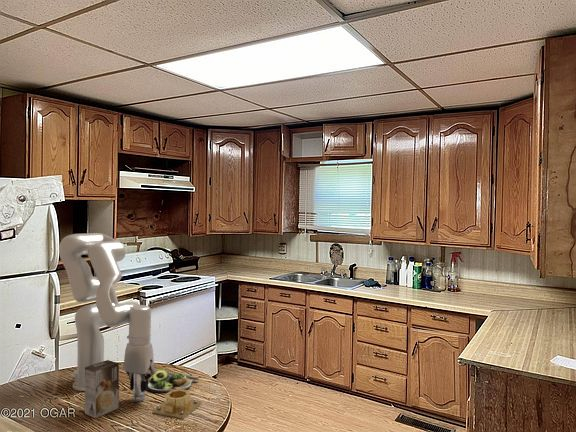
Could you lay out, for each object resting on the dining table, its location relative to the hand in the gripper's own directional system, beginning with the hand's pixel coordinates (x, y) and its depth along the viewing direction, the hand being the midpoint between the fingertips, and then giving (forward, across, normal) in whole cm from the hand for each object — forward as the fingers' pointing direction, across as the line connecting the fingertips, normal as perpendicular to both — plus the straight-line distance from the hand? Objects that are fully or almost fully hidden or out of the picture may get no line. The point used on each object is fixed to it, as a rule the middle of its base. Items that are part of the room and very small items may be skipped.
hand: (139, 389), depth 159 cm
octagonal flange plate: (+4, +17, -1) cm, 17 cm away
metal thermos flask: (+4, 0, 0) cm, 4 cm away
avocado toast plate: (+4, +2, +16) cm, 17 cm away
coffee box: (+4, -6, -12) cm, 14 cm away
